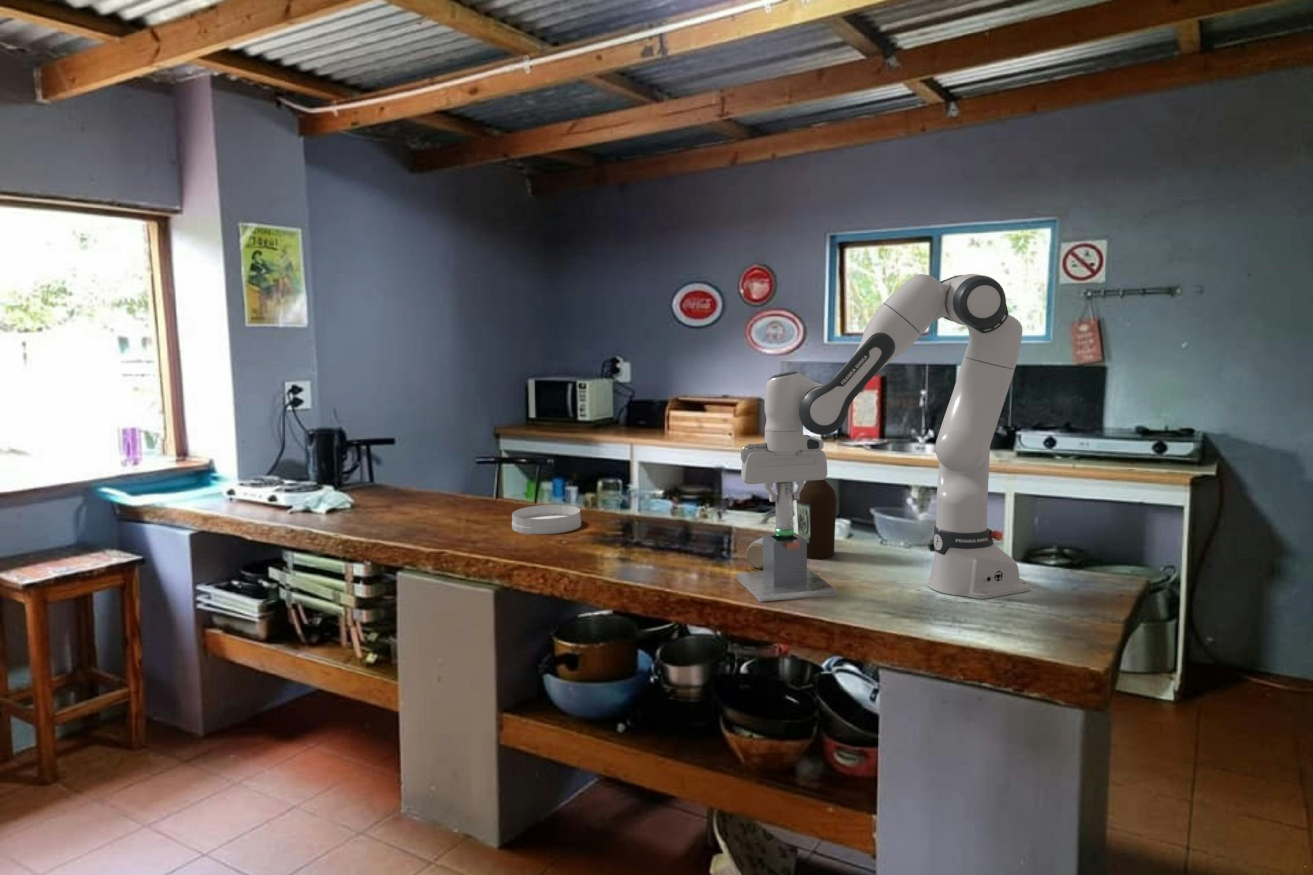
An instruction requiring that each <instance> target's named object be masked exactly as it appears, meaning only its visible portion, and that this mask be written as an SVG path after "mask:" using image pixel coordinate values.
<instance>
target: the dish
mask: <svg viewBox="0 0 1313 875" xmlns="http://www.w3.org/2000/svg"><path fill="white" fill-rule="evenodd" d="M511 519H512V521H511V529H512V530H513V531H514V532H516V533H519V534H524V535H525V534H526V535H552V534H553V535H554V534H560V533H561V534H562V533H566V532H567V533H568V532H571V531H574V530H577V529H579V528H580V527H581V526H582V517H581V509H580V508H579V507H576V506H573V505H563V504H542V505H541V504H540V505H533V506H526V507H521V508H519V509H516V510H514V511H513V512H512V513H511Z"/></svg>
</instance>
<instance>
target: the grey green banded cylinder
mask: <svg viewBox="0 0 1313 875" xmlns="http://www.w3.org/2000/svg"><path fill="white" fill-rule="evenodd" d="M793 492H794V482H779V483H775V493H776V494H777V502H775V527H774V534H775V537H776V540H777V541H783V540H793V537H794V530H795V528H794V500H793Z"/></svg>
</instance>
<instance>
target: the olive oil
mask: <svg viewBox="0 0 1313 875" xmlns="http://www.w3.org/2000/svg"><path fill="white" fill-rule="evenodd" d="M825 479H826V478H825ZM825 479H824V480H812V481H805V482H804V487H803V488H802V490H801V492H800V493H799V500H795V501H796V518H797V534H798V535H799V536H801V537H802V538H804V539H805V540H807V559H812V560H824V559H830V558H832V557H834V556H835V541H836V540H835V535H836V518H837V503H838V502H837V501H838V499H837V494H836V492H835V490H834V488H833V487H832V486H831V485H830V484H829V483H828V481H826V480H825Z"/></svg>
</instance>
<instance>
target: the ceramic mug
mask: <svg viewBox="0 0 1313 875" xmlns="http://www.w3.org/2000/svg"><path fill="white" fill-rule="evenodd" d="M745 551H746V552H745V556H746V560H747V562H748V563H749V564H750V566H751V567H753V568H755V569H757V570H763V536H762V537H761V538H759V539H756V540H754V541H753V542H751V543H750V544H749V545H748V547H747V548H746V550H745Z"/></svg>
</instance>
